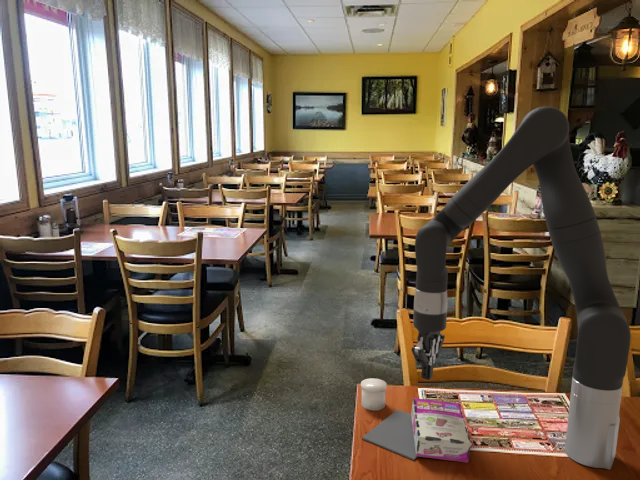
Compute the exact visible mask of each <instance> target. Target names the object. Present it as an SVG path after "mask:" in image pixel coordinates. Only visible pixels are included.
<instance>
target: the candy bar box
mask: <svg viewBox="0 0 640 480" xmlns="http://www.w3.org/2000/svg"><path fill="white" fill-rule="evenodd" d="M411 405H412V407H411V412H410V414H411V419H412V427H413V435H414V444H415V452H416V456H418V458H419V457H421V458H430V459H437V460H443V461H444V460H445V461H451V462H452V461H453V462H459V463H460V462H461V463H469V460H470V459H469V457H470V453H471V448H472V441H471V438H470V436H469V432H468V428H467V425H466V421H465V418H464V415H463V411H462V407H461V405H460V402H459V403H457V402H449V401H440V400H433V399H425V398H424V399H423V398H418V397H413V400H412V404H411Z"/></svg>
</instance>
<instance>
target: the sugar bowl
mask: <svg viewBox="0 0 640 480" xmlns="http://www.w3.org/2000/svg"><path fill="white" fill-rule="evenodd" d="M360 388H361V407H362V408H364V409H366V410H369V411H380V410H381V411H382V410H383V409H385V406H386V390H387V388H388V383H387V382H386V381H385V380H383V379H380V378H373V377H372V378H371V377H369V378H365V379H362V380H361V382H360Z"/></svg>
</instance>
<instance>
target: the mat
mask: <svg viewBox="0 0 640 480" xmlns="http://www.w3.org/2000/svg"><path fill="white" fill-rule="evenodd" d="M361 439H362V440H363V441H366V442H369V443H371V444H373V445H374V446H375V445H376V446H377V447H380V448H383V449H386V450H387V451H389V452H392V453H395V454H396V455H399V456H401V457H404V458H407V459H409V460H410V461H411V460H412V461H415V460H416V459H417V458H419V456H416V452H415V444H414V435H413V427H412V419H411V413H409V412H406V411H403V410H402V409H401V410H400V409H396V410H395V411H394V412H392V413H391V414H390V415H389V416H387V417H386V418H385V419H384V420H383V421H381V422H380V423H378V424H377V425H375V427H374V428H372V429H371V430H370V431H368V432H367V433H366V434H364V435H363V436H362V438H361Z"/></svg>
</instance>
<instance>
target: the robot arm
mask: <svg viewBox="0 0 640 480" xmlns="http://www.w3.org/2000/svg"><path fill="white" fill-rule="evenodd" d="M569 133H570V122H569V120H568V117H567V116H566V114H565V113H564V112H563V111H561V109H558V108H557V107H553V106H539V107H536V108H534V109H531V110H530V111H529V112H528V113H527V114H525V116H523V118H522V120H521V122H520V125H519V126H518V127H517V128H516V130H515V131H514V132H513V134H512V135H511V137H510V138H509V139H508V141H507V142H506V143H505V145H504V146H502V148H501V149H500V151H498V153H496V154H495V156H494V157H493V158H491V160H490V161H489V162H488V163H487V164H486V165H484V166H483V168H481V169H480V170H479V171H478V172H476V174H474V175H473V177H471V178H470V179H469V180H468V181H467V182H466V183H465V184H463V186H462V187H461V188H459V190H458V191H457V192H455V194H454V195H453V196H452V197H451V198H450V199H448V201H447V202H446V203H445V206H444V207H443V208H442V209H441V210H439V212H438V213H436V215H435V216H433V217H432V218H431V219H430V220H429V221H428V222H427V223H425V224H424V225H423V226H421V227H420V228H419V229H418V230H417V233H416V235H415V239H414V240H415V241H414V254H415V262H416V263H415V265H416V278H415V292H414V298H413V317H412V318H413V319H412V320H413V321H412V325H413V327H414V329H416V330H417V331H418V333H417V337H416V338H417V344H416V346H414V345H413V346H412V347H411V353H412V355H413V357H414V360H415V361H416V363H417V364H420V365H421V378H422V379H424V380H427V381H429V380H432V378H434V377H433V376H434V375H433V373H434V364H435V362H436V359H438V358H439V356H440V353H441V350H442V347H443V344H444V341H445V334H442V333H441V332H443V331H445V330H446V328H447V319H448V318H447V316H448V315H447V314H448V280H449V277H448V276H449V275H448V274H449V273H448V267H447V266H446V264H447V261H446V260H447V247H448V246H450V244H451V243H452V242H453V241H454V240H455V239H456V238H457V237H458V236H459V235H460V234H461V233H462V232H463V231H464V229H465V228H467V227H469V226H470V225H471V224H473V222H475V221H476V220H477V219H478V218H479V217H480V216H481V215H483V214H484V213H485V211H487V210H488V209H489V208H490V207H491V206H492V205H493V203H494V202H495V201H496V200H497V199H498V198H500V196H501V195H502V194H503V193H504V192H505V191H506V189H507V188H508V187H509V186H510V185H511V184H512V183H513V182H514V181H515V180H516V179H517V178H518V177H520V176H521V175H522V174H523V173H524V172H525V171H526V170H528V169H529V168H530V167H531V166H533V168H534V170H535V173H536V176H537V180H538V183H539V190H540V198H541V204H542V209H543V210H542V211H543V215H544V219H545V224H546V227H547V231H548V234H549V237H550V241H551V244H552V247H553V249H554V250H553V251H554V252H555V255H556V257H557V259H558V261H559V264H560V266H561V268H562V270H563V271H564V274H565V276H566V278H567V280H568V282H569V286H570V288H571V291H572V295H573V296H572V297H573V301H574V306H575V312H576V323H577V324H576V325H577V337H576V338H577V339H576V349H575V359H574V364H573V369H572V379H571V387H570V388H571V389H570V397H569V404H568V405H569V406H568V407H569V409H568V416H567V417H568V418H567V426H566V435H565V443H564V444H565V445H564V451H565V454H566V455H567V456H568V457H569V458H570V459H571V460H573V461H574V462H576V463H579V464H580V465H583V466H586V467H590V468H595V469H606V470H609V471H610V470H611V469H612V467H613V464H614V461H615V458H616V453H617V445H618V437H619V429H620V428H619V427H620V419H621V416H620V407H621V399H622V392H623V385H624V383H623V382H624V379H625V377H626V374H627V373H626V372H627V367H628V360H629V354H630V346H631V338H632V337H631V327H630V325H629V323H628V321H627V318H626V316H625V314H624V312H623V310H622V308H621V306H620V304H619V302H618V299H617V297H616V295H615V292H614V289H613V287H612V285H611V282H610V279H609V274H608V271H607V263H606V262H607V261H606V253H605V247H604V241H603V237H602V233H601V229H600V226H599V222H598V219H597V214H596V213H595V210H594V207H593V205H592V202H591V200H590V197H589V195H588V192H587V191H586V189H585V186H584V184H583V182H582V181H581V178H580V176H579V174H578V172H577V169H576V166H575V162H574V158H573V154H572V153H573V152H572V149H571V144H570V138H569Z"/></svg>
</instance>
